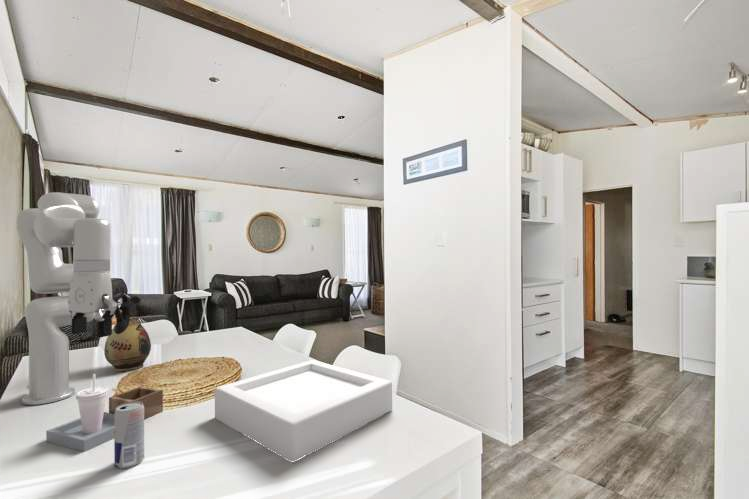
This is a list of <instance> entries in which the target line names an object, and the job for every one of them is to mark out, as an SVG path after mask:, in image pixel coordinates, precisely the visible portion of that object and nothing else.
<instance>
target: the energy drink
mask: <svg viewBox="0 0 749 499" xmlns="http://www.w3.org/2000/svg"><path fill="white" fill-rule="evenodd" d="M113 440H114V445H113V446H114V450H113V451H114V452H113V453H114V456H113V457H114V458H113V461H114V467H115V468H117V469H121V470H123V469H129V468H133V467H135V466H137V465H140V463H142V462H143V461H144V459H145V420H144V405H143V403H142V402H129V403H125V404H122V405H120V406H118V407H117V408H116V410H115V413H114V438H113Z"/></svg>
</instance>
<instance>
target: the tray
mask: <svg viewBox="0 0 749 499" xmlns="http://www.w3.org/2000/svg"><path fill="white" fill-rule="evenodd" d="M391 410H392V411H393V383H392V381H391V380H388V379H384V378H382V377H377V376H374V375H370V374H366V373H362V372H359V371H356V370H351V369H348V368H344V367H340V366H337V365H332V364H330V363H326V362H322V361H319V360H314V359H310V360H308V361H303V362H301V363H298V364H293V365H290V366H286V367H282V368H280V369H276V370H271V371H268V372H266V373H261V374H258V375H255V376H251V377H247V378H245V379H241V380H240V379H239V380H238V381H234V382H230V383H227V384H223V385H220V386H217V387H215V389H214V419H215V420H216V421H219V422H220V421H221V423H222V422H223V423H222V424H224V425H226V426H227V425H228V427H229V426H230V427H229V428H231V427H232V428H234V429H236V430H238V431H239V432H241V433H243V434H245V435H246V436H249V437H250V438H252V439H254V440H256V441H257V442H259V443H261V444H262V445H264V446H265V447H267V448H269V449H270V450H272V451H274V452H276V453H277V454H279V455H281V456H282V457H284V458H286V459H288V460H290V461H295V460H297V459H299V458H301V457H303V456H304V455H307V454H309V453H311V452H313V451H315V450H317V449H319V448H321V447H323V446H325V445H326V444H328V443H330V442H332V441H334V440H336V439H338V438H340V437H342V436H344V435H345V436H347V435H349V434H351V433H353V432H354V430H355V429H357V428H359V427H360V428H362V427H364V426H366V425H367V424H366V423H368V422H370V421H372V420H374V419H375V420H377V419H379V418H381V417H382V416H381V415H383V414H385V413H387V412H389V411H390V412H392V411H391ZM390 412H389V413H390ZM387 414H388V413H387ZM385 415H386V414H385ZM380 416H381V417H380ZM383 416H384V415H383ZM378 417H379V418H378ZM376 418H377V419H376ZM375 420H374V421H375ZM372 422H373V421H372ZM370 423H371V422H370ZM365 424H366V425H365ZM368 424H369V423H368ZM363 425H364V426H363ZM361 426H362V427H361ZM232 428H231V429H232ZM360 428H359V429H360ZM234 429H233V430H234ZM236 430H235V431H236ZM357 430H358V429H357ZM238 431H237V432H238ZM352 431H353V432H352ZM355 431H356V430H355ZM239 432H238V433H239ZM350 432H351V433H350ZM241 433H240V434H241ZM348 433H349V434H348ZM243 434H242V435H243ZM346 434H347V435H346ZM246 436H245V437H246ZM345 436H344V437H345ZM250 438H249V439H250ZM342 438H343V437H342ZM340 439H341V438H340ZM338 440H339V439H338ZM336 441H337V440H336ZM334 442H335V441H334ZM332 443H333V442H332ZM330 444H331V443H330ZM262 445H261V446H262ZM265 447H264V448H265ZM325 447H326V446H325ZM267 448H266V449H267ZM323 448H324V447H323ZM321 449H322V448H321ZM270 450H269V451H270ZM319 450H320V449H319ZM272 451H271V452H272ZM317 451H318V450H317ZM274 452H273V453H274ZM315 452H316V451H315ZM277 454H276V455H277ZM279 455H278V456H279ZM282 457H281V458H282ZM284 458H283V459H284ZM286 459H285V460H286Z"/></svg>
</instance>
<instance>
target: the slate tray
mask: <svg viewBox="0 0 749 499" xmlns="http://www.w3.org/2000/svg"><path fill="white" fill-rule="evenodd" d="M45 432H46V436H45V437H46V442H48V443H51V444H56V445H59V446H63V447H66V448H71V449H74V450H77V451H81V452H87V451H89V450H91V449H93V448H96V447H98V446H100V445H102V444H104V443H106V442H108V441H112V440H114V414H111V413H109V412H107V411H104V414H103V421H102V428H101V429H100V430H99V431H97V432H94V433H89V434H85V433H83V429H82V423H81V417H79V418H76V419H74V420H70V421H69V422H66V423H63V424H61V425H58V426H55V427H53V428H49V429H48V430H46V431H45Z"/></svg>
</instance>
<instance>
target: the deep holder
mask: <svg viewBox="0 0 749 499" xmlns="http://www.w3.org/2000/svg"><path fill="white" fill-rule="evenodd" d="M163 392H164V390H163V389H158V388H151V387H147V386H137V387H134V388H132V389H130V390H127V391H124V392H122V393H119V394H115V395H113V396H109V397H108V413H111V414H114V413H115V410H116V408H117V407H118V406H120V405H122V404H125V403H129V402H142V403H143V405H144V421H145V420H147V419H149V418H152V417H153V416H156V415H158V414H160V413H163V412H164V411H163V410H164V403H163V402H164V400H163V398H164V396H163V395H164V393H163Z"/></svg>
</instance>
